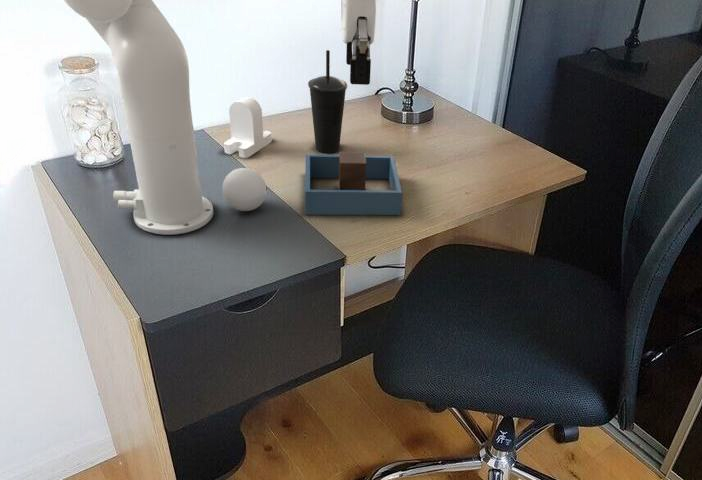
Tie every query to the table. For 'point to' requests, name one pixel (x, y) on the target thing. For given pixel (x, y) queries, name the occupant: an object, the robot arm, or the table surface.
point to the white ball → (244, 189)
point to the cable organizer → (246, 128)
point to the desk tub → (352, 199)
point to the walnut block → (352, 171)
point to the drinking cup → (327, 109)
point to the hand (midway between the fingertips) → (357, 73)
